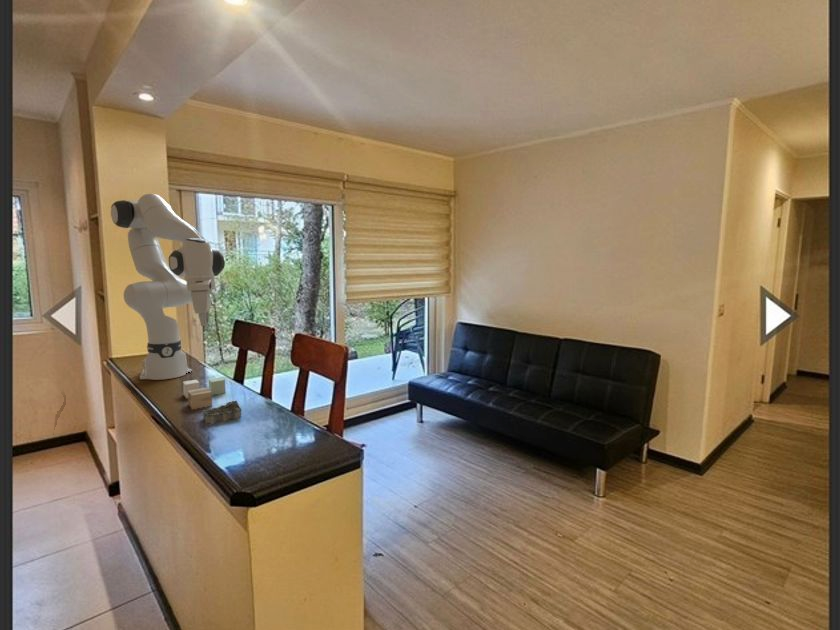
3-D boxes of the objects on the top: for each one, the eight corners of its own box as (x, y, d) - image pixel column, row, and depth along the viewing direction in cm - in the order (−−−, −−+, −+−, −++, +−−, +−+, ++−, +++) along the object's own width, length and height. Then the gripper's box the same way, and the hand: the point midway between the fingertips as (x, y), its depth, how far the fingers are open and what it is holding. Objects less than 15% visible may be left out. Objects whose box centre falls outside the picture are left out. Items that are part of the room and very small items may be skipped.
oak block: (188, 405, 149) (187, 390, 148) (207, 401, 152) (206, 387, 152) (192, 410, 144) (191, 395, 143) (212, 406, 148) (211, 391, 147)
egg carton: (238, 412, 143) (238, 399, 143) (243, 419, 137) (242, 406, 137) (202, 417, 138) (201, 405, 137) (204, 425, 132) (204, 412, 131)
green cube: (209, 392, 162) (208, 379, 161) (222, 390, 165) (221, 377, 164) (212, 395, 159) (211, 382, 158) (225, 393, 161) (224, 379, 161)
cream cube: (183, 395, 159) (182, 381, 158) (197, 392, 162) (196, 379, 161) (186, 398, 155) (185, 384, 155) (200, 396, 158) (199, 382, 157)
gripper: (194, 284, 164) (198, 322, 165) (187, 286, 145) (191, 328, 146) (213, 283, 166) (216, 320, 168) (208, 285, 147) (212, 326, 149)
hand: (205, 324), depth 157 cm, fingers open, 8 cm apart
